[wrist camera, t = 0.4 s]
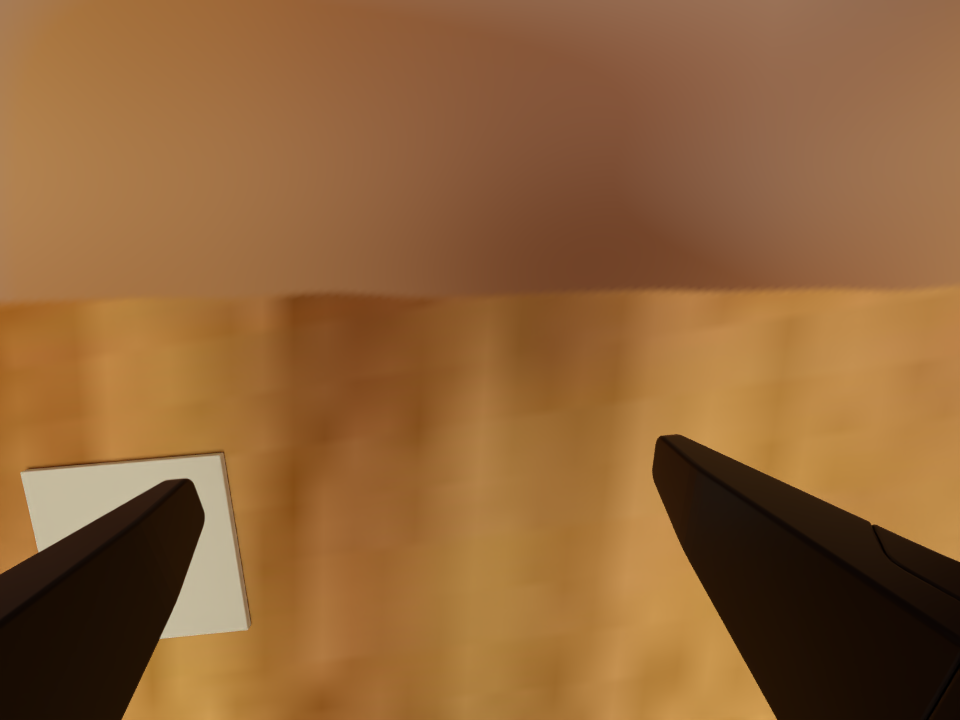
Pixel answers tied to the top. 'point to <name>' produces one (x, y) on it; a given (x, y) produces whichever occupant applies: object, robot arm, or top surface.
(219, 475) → the mat
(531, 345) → the top surface
